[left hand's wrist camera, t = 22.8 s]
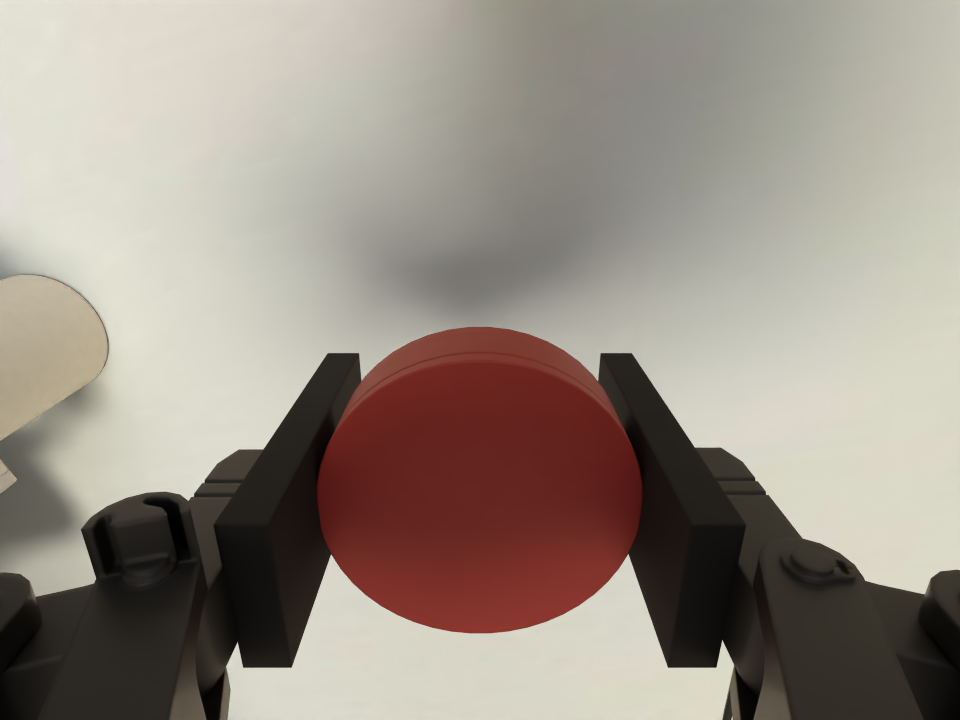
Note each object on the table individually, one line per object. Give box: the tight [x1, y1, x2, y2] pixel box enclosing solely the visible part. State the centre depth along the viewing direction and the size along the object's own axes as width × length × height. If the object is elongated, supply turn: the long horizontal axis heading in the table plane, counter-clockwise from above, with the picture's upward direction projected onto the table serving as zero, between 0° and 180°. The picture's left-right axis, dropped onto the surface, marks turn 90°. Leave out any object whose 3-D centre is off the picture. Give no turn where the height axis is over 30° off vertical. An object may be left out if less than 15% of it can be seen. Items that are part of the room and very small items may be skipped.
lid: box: [317, 327, 643, 633], centre depth 11 cm, size 6×6×2 cm
